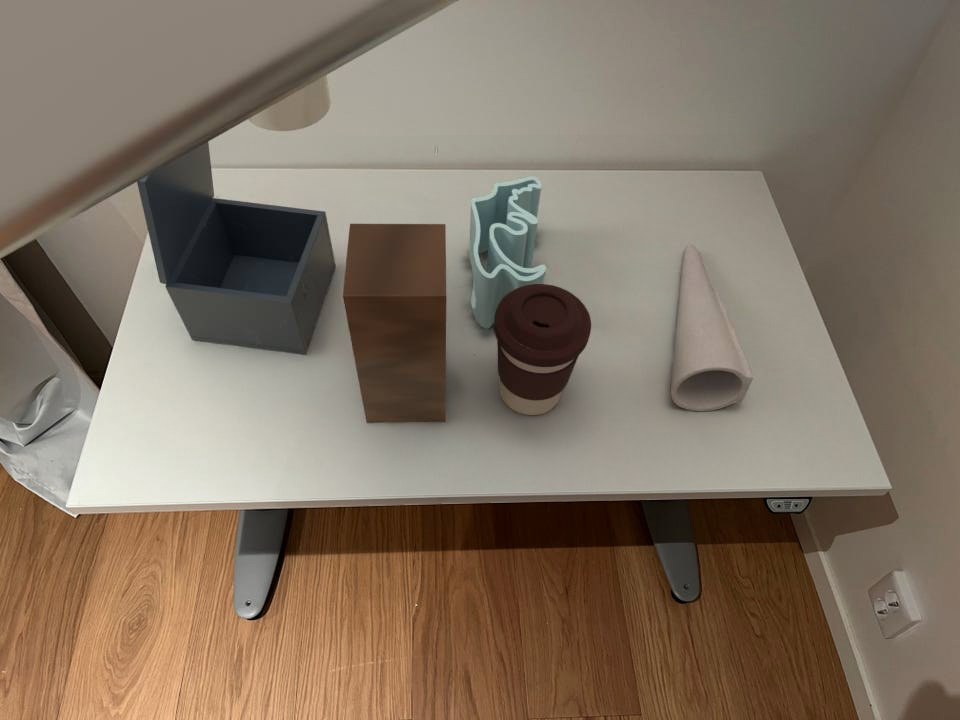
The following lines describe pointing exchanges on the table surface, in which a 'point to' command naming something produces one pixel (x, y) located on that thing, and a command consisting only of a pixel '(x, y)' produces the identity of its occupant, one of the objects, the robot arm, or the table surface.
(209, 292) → the grey box
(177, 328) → the table surface
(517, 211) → the squiggly pen holder
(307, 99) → the beige canister
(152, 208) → the box lid
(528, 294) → the coffee cup
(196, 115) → the robot arm
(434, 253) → the stand
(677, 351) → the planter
